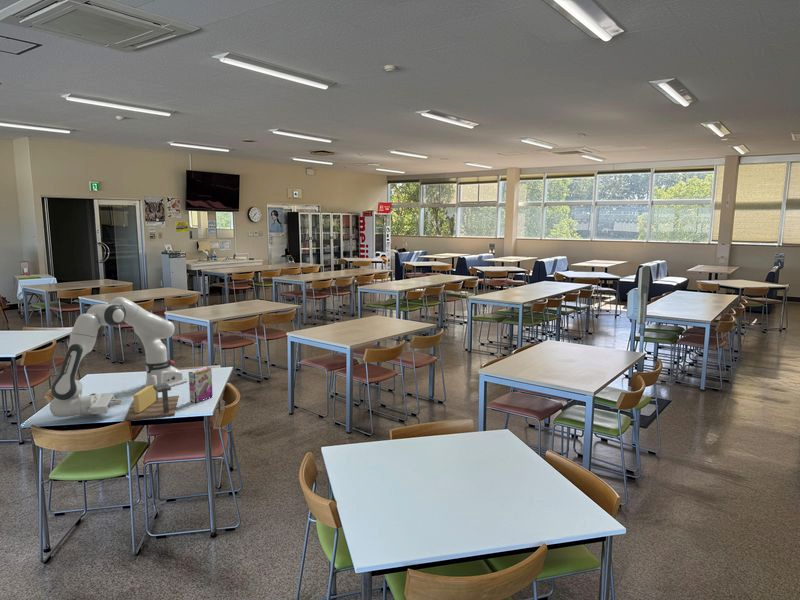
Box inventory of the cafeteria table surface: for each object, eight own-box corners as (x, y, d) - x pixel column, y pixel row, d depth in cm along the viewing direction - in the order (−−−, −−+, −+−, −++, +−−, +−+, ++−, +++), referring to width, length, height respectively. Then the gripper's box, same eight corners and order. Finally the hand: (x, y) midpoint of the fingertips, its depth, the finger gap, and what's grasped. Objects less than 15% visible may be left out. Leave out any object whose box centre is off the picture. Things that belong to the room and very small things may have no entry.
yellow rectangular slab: (153, 399, 281) (151, 375, 279) (159, 399, 280) (157, 375, 278) (134, 412, 261) (131, 387, 259) (140, 412, 261) (138, 387, 259)
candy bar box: (196, 403, 278) (193, 373, 275) (189, 401, 280) (187, 371, 278) (213, 397, 287) (211, 367, 285) (207, 395, 290) (205, 366, 287)
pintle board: (133, 402, 281) (131, 377, 278) (178, 397, 287) (176, 373, 285) (124, 421, 254) (121, 394, 252) (174, 415, 261) (172, 389, 259)
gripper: (83, 406, 249) (116, 402, 253) (93, 392, 268) (124, 389, 273) (84, 418, 250) (117, 415, 254) (94, 404, 269) (125, 401, 274)
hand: (121, 401), depth 264 cm, fingers closed
